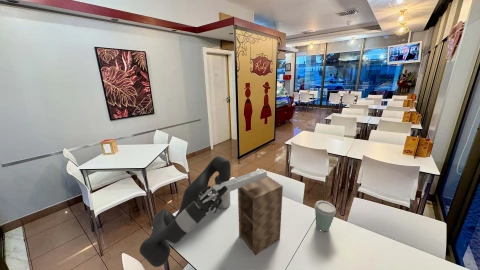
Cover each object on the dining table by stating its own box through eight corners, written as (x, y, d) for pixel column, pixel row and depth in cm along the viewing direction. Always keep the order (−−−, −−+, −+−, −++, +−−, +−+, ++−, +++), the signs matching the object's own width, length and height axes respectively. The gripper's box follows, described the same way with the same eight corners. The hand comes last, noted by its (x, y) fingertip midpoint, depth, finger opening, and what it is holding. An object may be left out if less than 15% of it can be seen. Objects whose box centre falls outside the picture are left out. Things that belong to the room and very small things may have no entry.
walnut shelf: (255, 255, 92) (255, 197, 83) (239, 235, 104) (237, 183, 94) (279, 239, 101) (282, 185, 91) (262, 223, 112) (263, 173, 102)
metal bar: (216, 196, 77) (215, 190, 77) (212, 192, 80) (212, 186, 79) (266, 177, 91) (266, 171, 90) (261, 174, 94) (261, 168, 93)
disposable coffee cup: (329, 221, 112) (332, 199, 107) (336, 236, 102) (340, 212, 97) (310, 220, 113) (312, 198, 108) (315, 235, 103) (318, 211, 98)
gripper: (191, 222, 68) (228, 187, 73) (179, 201, 79) (211, 172, 84) (203, 233, 72) (237, 198, 77) (190, 211, 83) (220, 182, 88)
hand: (223, 184), depth 80 cm, fingers closed on metal bar, 3 cm apart
